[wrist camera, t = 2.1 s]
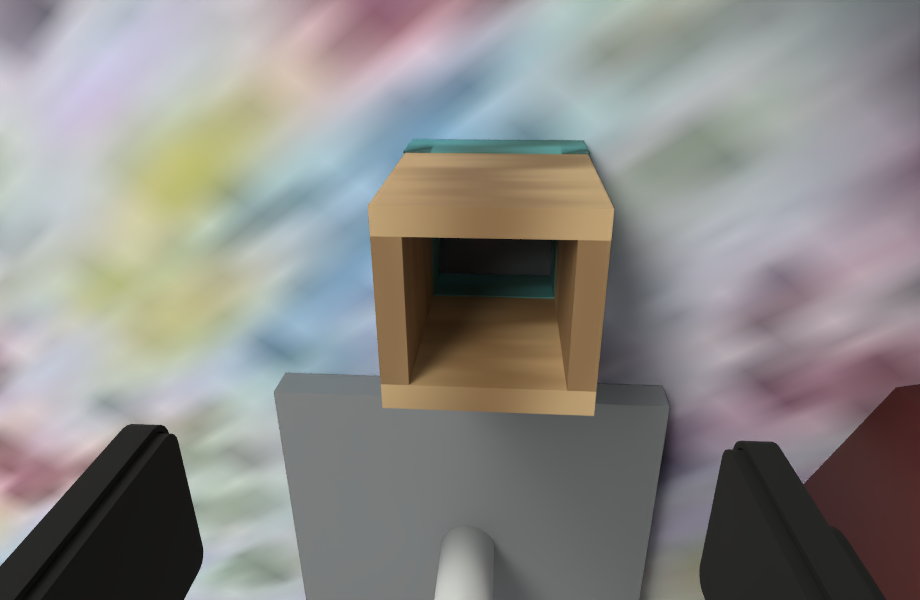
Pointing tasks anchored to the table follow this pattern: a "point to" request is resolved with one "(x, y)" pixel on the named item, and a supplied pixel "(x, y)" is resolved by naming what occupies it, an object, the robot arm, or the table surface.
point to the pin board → (468, 494)
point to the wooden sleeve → (490, 278)
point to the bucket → (879, 493)
